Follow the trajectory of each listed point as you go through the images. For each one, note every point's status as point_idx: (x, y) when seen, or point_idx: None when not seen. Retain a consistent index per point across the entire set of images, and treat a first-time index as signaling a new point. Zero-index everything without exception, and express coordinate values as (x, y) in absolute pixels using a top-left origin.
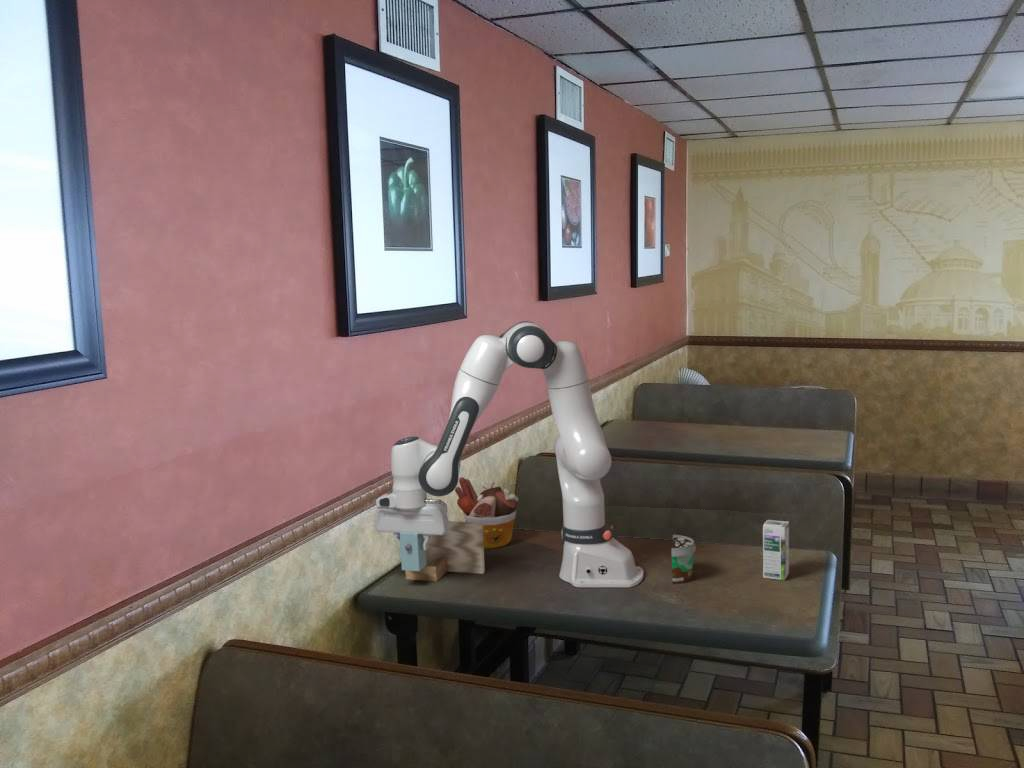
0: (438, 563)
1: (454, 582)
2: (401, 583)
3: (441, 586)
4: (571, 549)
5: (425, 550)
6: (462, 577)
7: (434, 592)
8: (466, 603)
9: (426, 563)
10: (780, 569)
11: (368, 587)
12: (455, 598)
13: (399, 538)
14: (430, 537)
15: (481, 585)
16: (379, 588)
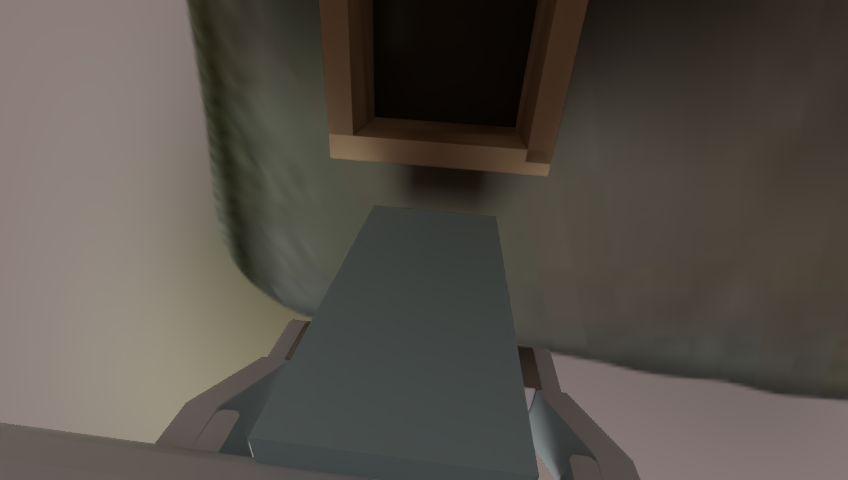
0: (554, 99)
1: (637, 151)
2: (359, 192)
3: (570, 211)
4: None
5: (504, 278)
6: (688, 60)
7: (549, 278)
8: (699, 363)
9: (496, 223)
10: None
11: (244, 248)
12: (651, 327)
13: (261, 408)
14: (615, 453)
15: (800, 179)
16: (295, 254)
